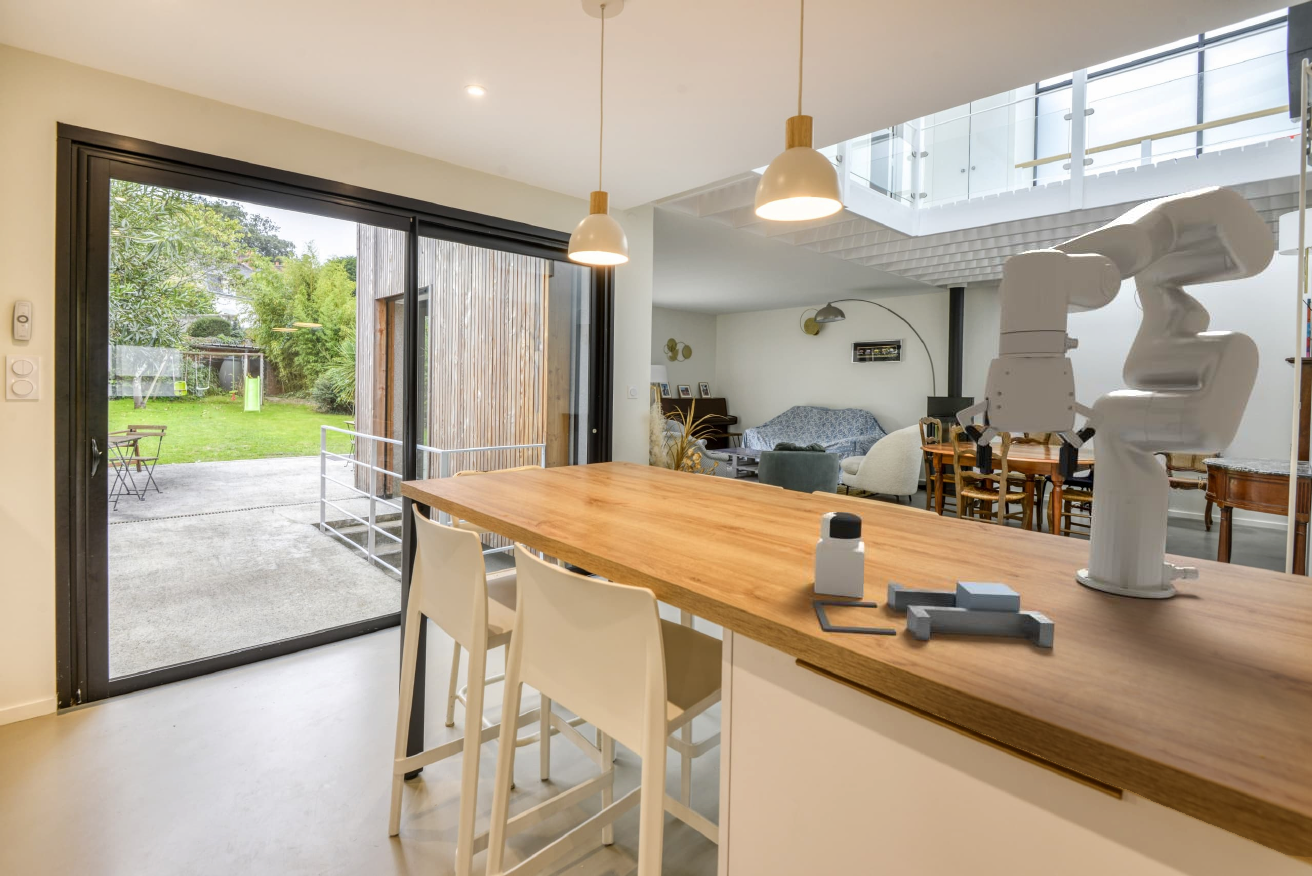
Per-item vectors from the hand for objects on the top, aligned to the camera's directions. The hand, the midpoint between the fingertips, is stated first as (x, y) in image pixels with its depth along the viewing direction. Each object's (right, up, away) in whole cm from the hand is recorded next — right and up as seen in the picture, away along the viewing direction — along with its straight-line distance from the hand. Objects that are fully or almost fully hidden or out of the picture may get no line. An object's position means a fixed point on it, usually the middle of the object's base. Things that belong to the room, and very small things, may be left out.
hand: (1024, 475), depth 81 cm
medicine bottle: (-21, -19, +13) cm, 31 cm away
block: (-6, -20, -1) cm, 21 cm away
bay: (-22, -20, +2) cm, 30 cm away
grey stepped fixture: (-8, -20, 0) cm, 22 cm away
